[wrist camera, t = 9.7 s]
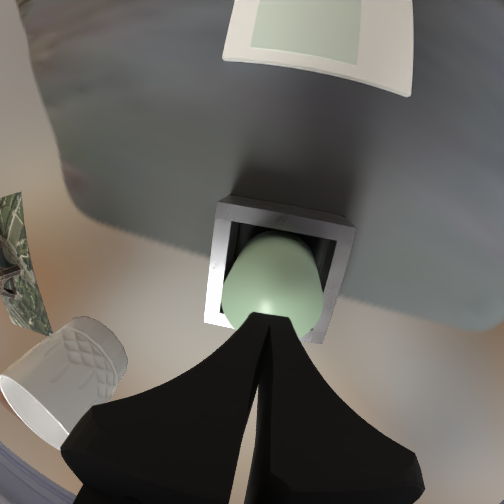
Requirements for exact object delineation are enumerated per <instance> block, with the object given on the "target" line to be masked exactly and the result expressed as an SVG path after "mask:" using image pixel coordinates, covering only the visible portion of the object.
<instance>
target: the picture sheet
mask: <svg viewBox="0 0 504 504" xmlns="http://www.w3.org/2000/svg"><path fill="white" fill-rule="evenodd" d="M222 58H223V59H224V61H235V62H248V63H259V64H268V65H276V66H283V67H290V68H296V69H302V70H307V71H313V72H318V73H323V74H327V75H332V76H336V77H341V78H345V79H349V80H353V81H356V82H360V83H364V84H367V85H371V86H374V87H377V88H380V89H384V90H387V91H390V92H393V93H396V94H399V95H401V96H404V97H409V96H411V88H412V73H413V5H412V0H235V3H234V7H233V11H232V16H231V20H230V24H229V28H228V33H227V37H226V42H225V47H224V51H223V56H222Z"/></svg>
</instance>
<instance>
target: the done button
mask: <svg viewBox="0 0 504 504" xmlns="http://www.w3.org/2000/svg"><path fill="white" fill-rule="evenodd" d="M323 301H324V300H323V292H322V288H321V283H320V279H319V275H318V270H317V266H316V262H315V258H314V255H313V253H312V251H311V249H310V248H309V246H308V245H307V244H306V243H305V242H304V241H303V240H302V239H301V238H299V237H298V236H296V235H294V234H292V233H289V232H285V231H279V230H273V231H266V232H263V233H260V234H258V235H256V236H254V237H253V238H251V239H250V240H249V241H248V242H247V243H246V244H245V245H244V247H243V248H242V250H241V252H240V254H239V255H238V257H237V259H236V261H235V263H234V265H233V267H232V269H231V271H230V273H229V274H228V276H227V278H226V280H225V282H224V285H223V288H222V293H221V303H222V308H223V312H224V314H225V317H226V318H227V320H228V322H229V323H230V324H231V326H232V327H233V328H234V329H235V330H236V331H237V330H238V329H239V327H240V326H241V325H242V324H243V323H244V321H245V320H246V319H247V317H248V316H249V314H250V313H252V312H258V313H264V314H271V315H277V316H284V317H289V318H290V320H291V322H292V324H293V327H294V329H295V331H296V334H297V336H298V338H301V337H303V336H304V335H306V334H307V333H308V332H309V331H310V330H311V329H312V328H313V327H314V326H315V324H316V323H317V322H318V320H319V318H320V315H321V313H322V309H323Z"/></svg>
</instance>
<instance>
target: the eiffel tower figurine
mask: <svg viewBox="0 0 504 504" xmlns="http://www.w3.org/2000/svg"><path fill="white" fill-rule="evenodd" d="M0 295H1V297H2V300H3V302H4V305H5V307H6V309H7V312H8V314H9V317H10V319H11V322H12V324H14V325H17V326H20V327H23V328H26V329H29V330H32V331H35V332H37V333H40V334H43V335H46V336H49V335H51V334H52V333H53V331H52V329H51V326H50V324H49V320H48V317H47V314H46V311H45V307H44V304H43V301H42V298H41V295H40V292H39V288H38V286H37V282H36V278H35V274H34V271H33V267H32V262H31V258H30V254H29V248H28V243H27V237H26V231H25V225H24V213H23V203H22V193H21V192H18V193H14V194H11V195H8V196H5V197H2V198H0Z"/></svg>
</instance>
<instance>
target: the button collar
mask: <svg viewBox="0 0 504 504" xmlns="http://www.w3.org/2000/svg"><path fill="white" fill-rule="evenodd" d="M239 222H241V223H246V224H252V225H257V226H263V227H268V228H274V229H279V230H284V231H290V232H295V233H300V234H305V235H310V236H315V237H320V238H325V239H326V242H325V247H324V251H323V255H322V259H321V263H320V267H319V271H318V275H319V279H320V283H321V288H322V292H323V300H324V301H323V309H322V313H321V315H320V318H319V320H318V322H317V323H316V324H315V326H314V327H313V328H312V329H311V330H310V331H309V332H308V333H307V334H306V335H304V336H303V337H301V338H299V340H300V341H305V342H311V343H318V344H322V343H323V340H324V337H325V334H326V331H327V329H328V326H329V323H330V320H331V317H332V313H333V310H334V307H335V304H336V301H337V298H338V294H339V291H340V288H341V284H342V281H343V277H344V274H345V270H346V267H347V263H348V260H349V256H350V252H351V248H352V244H353V241H354V237H355V233H356V227H355V226H354V225H353V224H352V223H351V222H350V221H349V220H348V219H347V218H346V217H345V216H341V215H336V214H331V213H327V212H322V211H317V210H312V209H307V208H302V207H297V206H292V205H286V204H281V203H275V202H270V201H264V200H259V199H253V198H247V197H241V196H235V195H228V196H227V197H225V198H223V199H222V200H220V201H218V202H217V209H216V216H215V224H214V233H213V241H212V250H211V259H210V269H209V277H208V287H207V298H206V308H205V319H204V322H207V323H211V324H216V325H220V326H225V327H229V328H233V327H232V326H231V324H230V323H229V322H228V320H227V318H226V317H225V314H224V312H223V308H222V303H221V293H222V288H223V285H224V282H225V280H226V278H227V276H228V274H229V273H230V271H231V269H232V267H233V264H234V257H235V250H236V243H237V236H238V229H239Z"/></svg>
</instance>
